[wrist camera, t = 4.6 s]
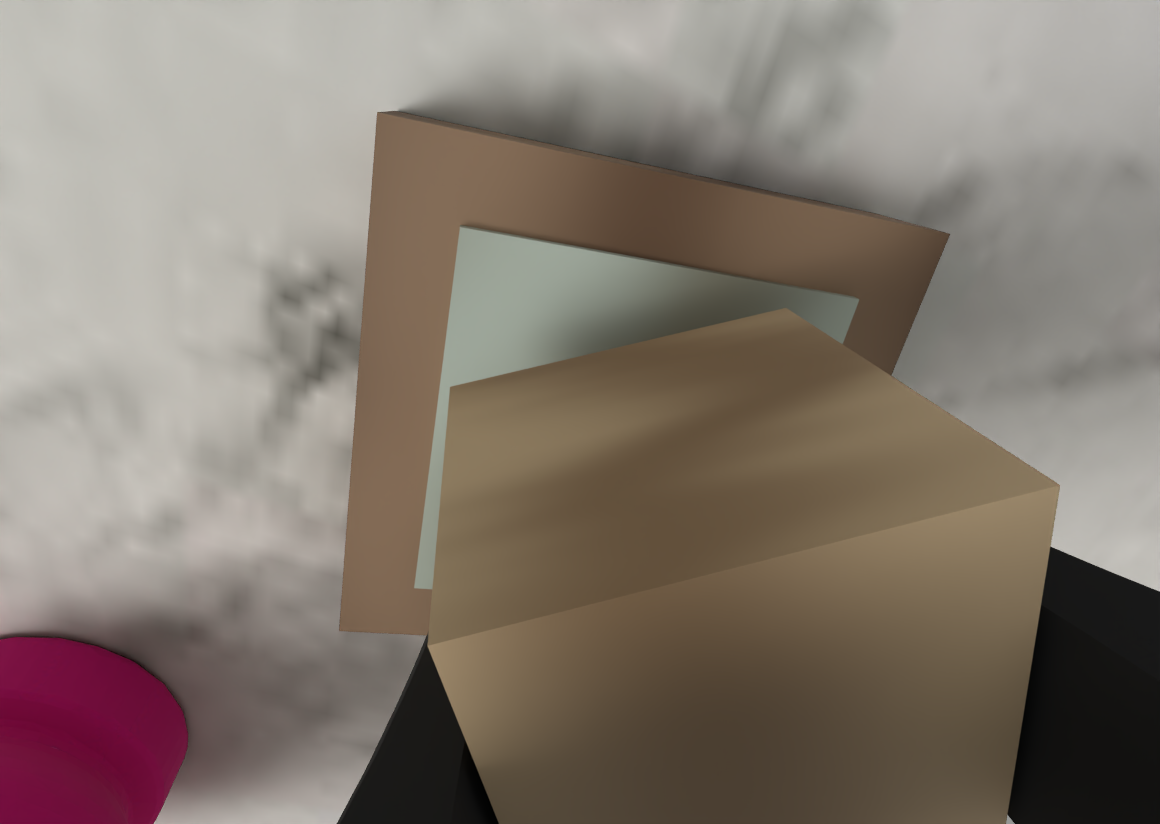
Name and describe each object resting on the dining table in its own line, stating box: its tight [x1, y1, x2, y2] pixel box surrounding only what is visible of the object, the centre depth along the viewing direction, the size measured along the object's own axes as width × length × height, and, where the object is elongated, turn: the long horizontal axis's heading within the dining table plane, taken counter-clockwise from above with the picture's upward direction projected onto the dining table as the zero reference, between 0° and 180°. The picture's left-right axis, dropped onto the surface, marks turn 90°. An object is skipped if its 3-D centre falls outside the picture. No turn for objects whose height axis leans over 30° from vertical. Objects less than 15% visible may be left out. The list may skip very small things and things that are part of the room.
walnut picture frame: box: [339, 111, 950, 635], centre depth 14 cm, size 10×10×3 cm
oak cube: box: [427, 308, 1060, 824], centre depth 8 cm, size 5×5×5 cm
